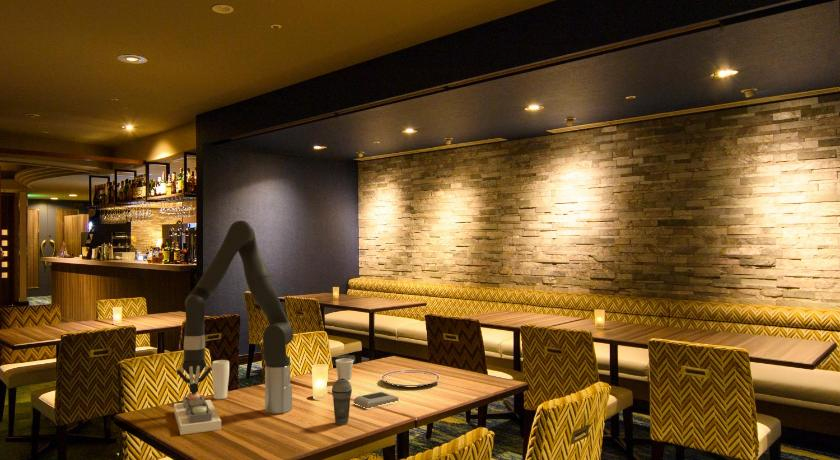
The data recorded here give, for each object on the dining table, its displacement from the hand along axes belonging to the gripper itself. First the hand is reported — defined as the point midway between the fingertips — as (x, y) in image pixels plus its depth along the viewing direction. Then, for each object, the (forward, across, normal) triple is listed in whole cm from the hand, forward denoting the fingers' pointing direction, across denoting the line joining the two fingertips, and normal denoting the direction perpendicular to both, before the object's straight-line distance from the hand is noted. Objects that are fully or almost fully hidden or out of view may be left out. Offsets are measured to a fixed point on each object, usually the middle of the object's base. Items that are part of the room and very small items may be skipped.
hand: (193, 393), depth 221 cm
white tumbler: (+8, -12, -17) cm, 22 cm away
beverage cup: (+7, -46, +36) cm, 59 cm away
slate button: (+3, 0, +10) cm, 11 cm away
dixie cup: (+7, -67, -22) cm, 71 cm away
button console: (+7, 0, +10) cm, 13 cm away
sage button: (+3, 0, +20) cm, 20 cm away
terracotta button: (+3, 0, 0) cm, 3 cm away
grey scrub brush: (+8, -67, +18) cm, 69 cm away
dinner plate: (+7, -94, -8) cm, 95 cm away
